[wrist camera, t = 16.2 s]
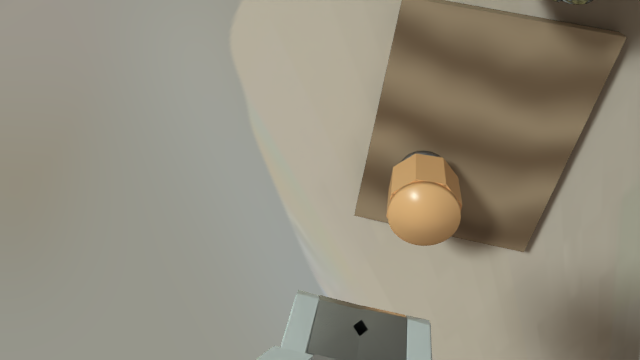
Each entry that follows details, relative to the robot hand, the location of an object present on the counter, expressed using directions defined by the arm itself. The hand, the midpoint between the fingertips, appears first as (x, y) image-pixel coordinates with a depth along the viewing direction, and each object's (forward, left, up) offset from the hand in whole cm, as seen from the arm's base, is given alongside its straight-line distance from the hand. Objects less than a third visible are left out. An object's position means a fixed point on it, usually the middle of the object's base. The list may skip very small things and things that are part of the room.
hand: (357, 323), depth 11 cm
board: (+8, +8, -31) cm, 33 cm away
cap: (+12, +5, -28) cm, 31 cm away
